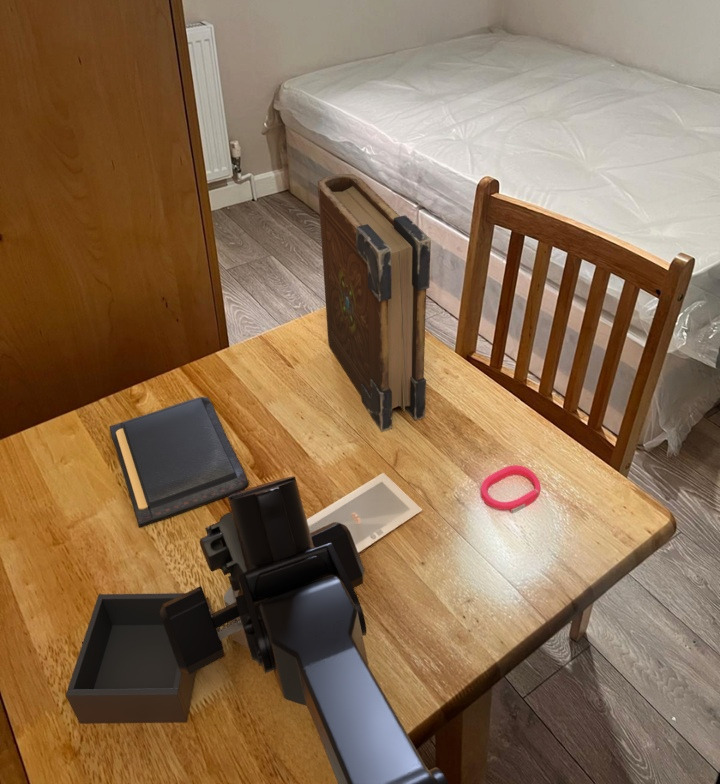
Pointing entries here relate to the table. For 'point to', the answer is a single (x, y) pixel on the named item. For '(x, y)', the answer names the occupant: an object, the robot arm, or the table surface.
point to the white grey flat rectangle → (368, 511)
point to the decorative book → (375, 296)
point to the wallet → (176, 460)
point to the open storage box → (129, 665)
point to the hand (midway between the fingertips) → (248, 582)
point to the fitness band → (517, 503)
